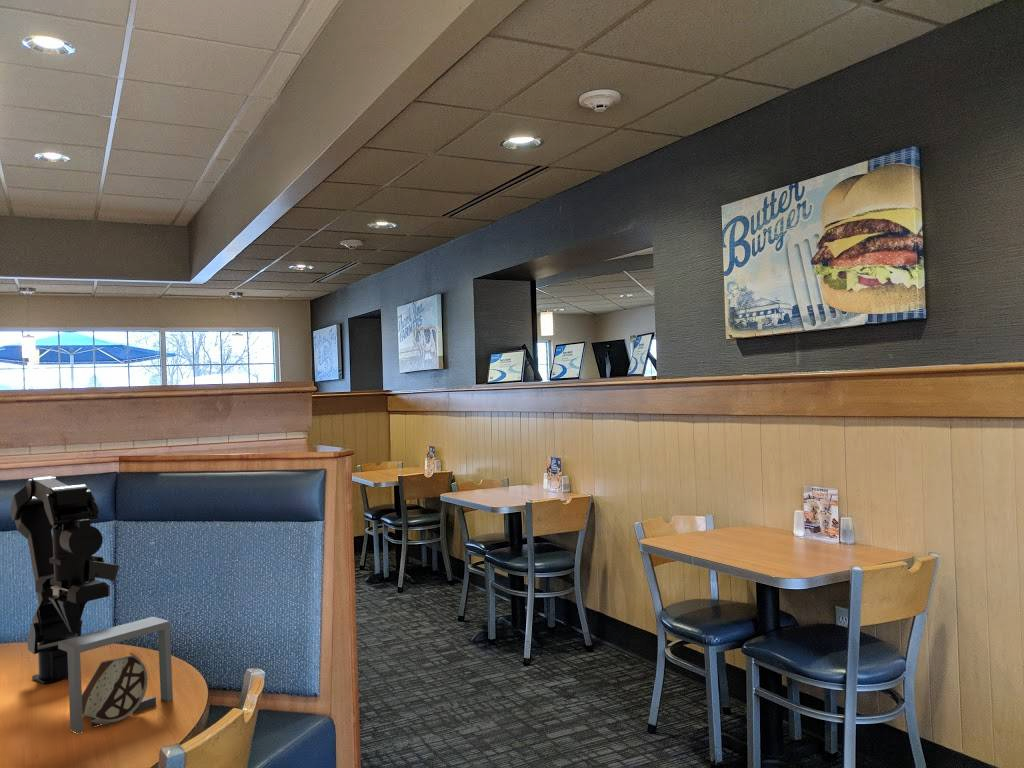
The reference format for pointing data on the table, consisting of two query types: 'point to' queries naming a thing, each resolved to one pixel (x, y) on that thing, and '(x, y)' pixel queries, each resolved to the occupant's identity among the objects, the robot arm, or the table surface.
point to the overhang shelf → (109, 637)
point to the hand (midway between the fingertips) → (73, 631)
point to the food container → (115, 690)
